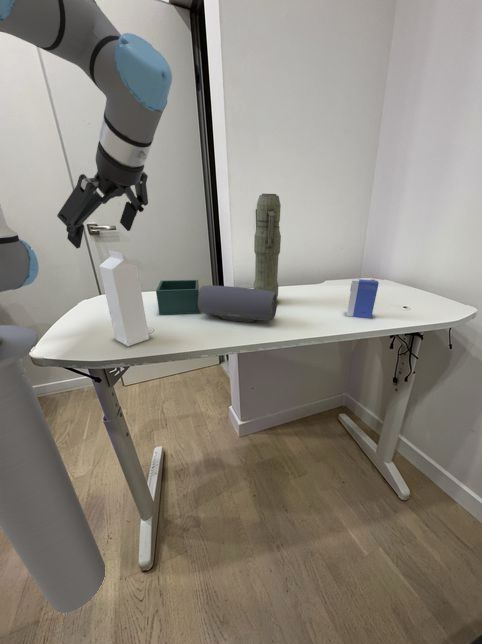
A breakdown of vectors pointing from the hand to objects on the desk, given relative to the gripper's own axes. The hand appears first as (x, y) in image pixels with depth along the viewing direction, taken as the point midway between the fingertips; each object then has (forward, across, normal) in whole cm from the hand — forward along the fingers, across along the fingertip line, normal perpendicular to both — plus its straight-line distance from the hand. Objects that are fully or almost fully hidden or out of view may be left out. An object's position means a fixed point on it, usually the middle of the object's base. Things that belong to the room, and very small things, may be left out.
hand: (101, 234), depth 66 cm
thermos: (+11, +41, -37) cm, 56 cm away
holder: (+23, +20, -19) cm, 36 cm away
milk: (+15, -5, -21) cm, 26 cm away
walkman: (-12, +45, -61) cm, 77 cm away
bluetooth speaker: (+7, +21, -35) cm, 42 cm away
